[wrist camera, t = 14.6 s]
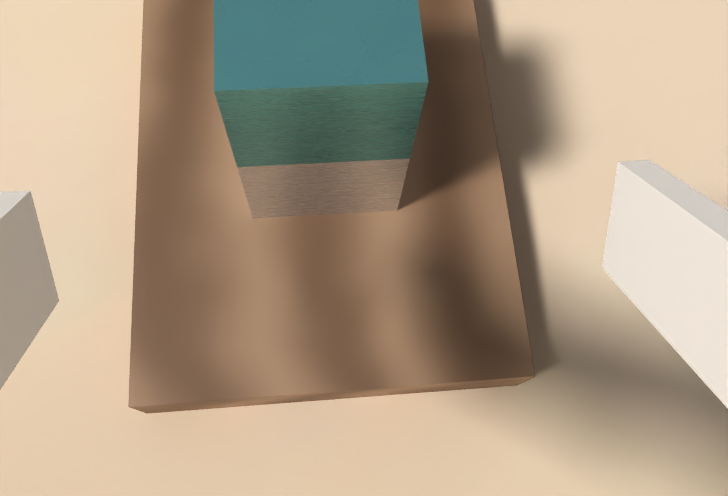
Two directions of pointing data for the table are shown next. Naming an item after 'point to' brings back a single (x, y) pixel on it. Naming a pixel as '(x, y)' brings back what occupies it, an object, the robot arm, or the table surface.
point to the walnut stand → (318, 247)
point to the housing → (320, 101)
